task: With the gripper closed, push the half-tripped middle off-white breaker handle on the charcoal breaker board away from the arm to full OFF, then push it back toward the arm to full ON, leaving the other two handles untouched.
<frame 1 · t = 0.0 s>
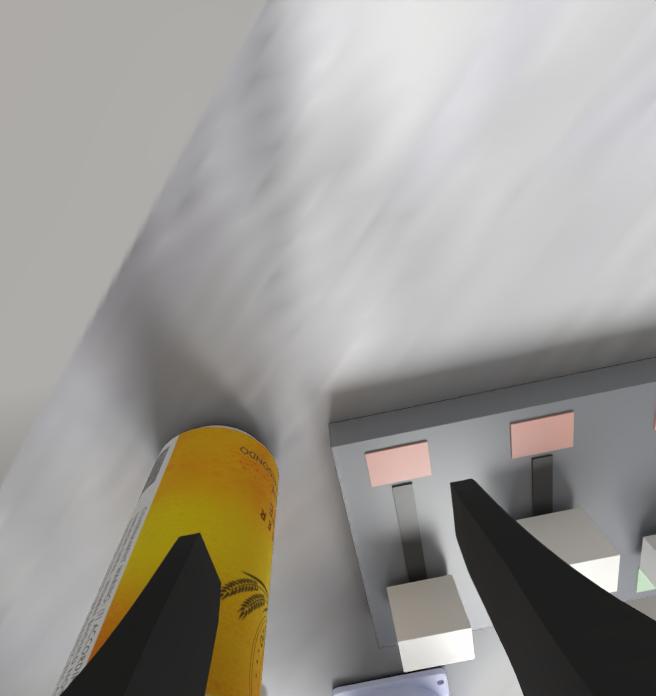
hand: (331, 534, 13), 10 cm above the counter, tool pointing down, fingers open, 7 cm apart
tripped breaker: (562, 554, 22), point 4 cm above the counter, slide at 3.0 cm
breaker board: (524, 497, 26), on the counter
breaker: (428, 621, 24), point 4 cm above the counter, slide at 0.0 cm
yellow and white cylinder: (221, 461, 24), on the counter, touching gripper
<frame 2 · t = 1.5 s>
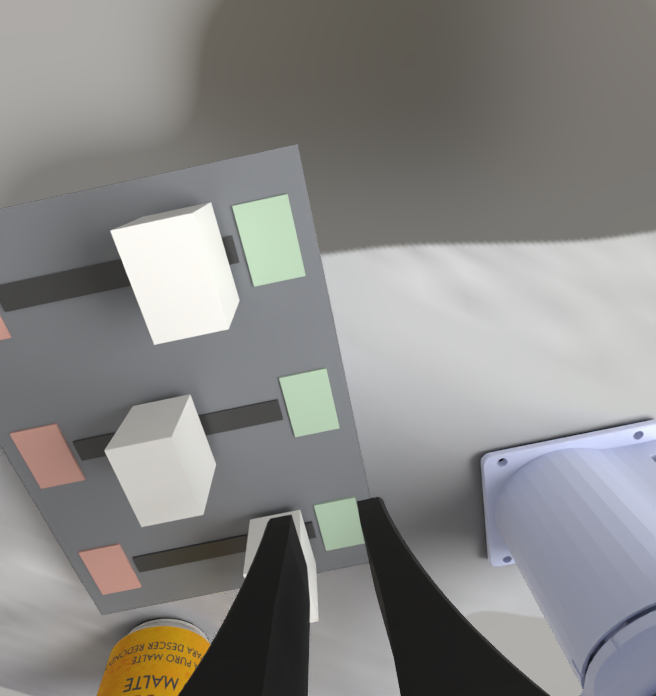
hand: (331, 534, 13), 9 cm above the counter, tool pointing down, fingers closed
tripped breaker: (166, 458, 18), point 4 cm above the counter, slide at 3.0 cm
breaker board: (188, 405, 21), on the counter
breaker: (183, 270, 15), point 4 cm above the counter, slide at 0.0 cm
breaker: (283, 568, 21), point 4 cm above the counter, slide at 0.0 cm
yellow and white cylinder: (167, 643, 28), on the counter
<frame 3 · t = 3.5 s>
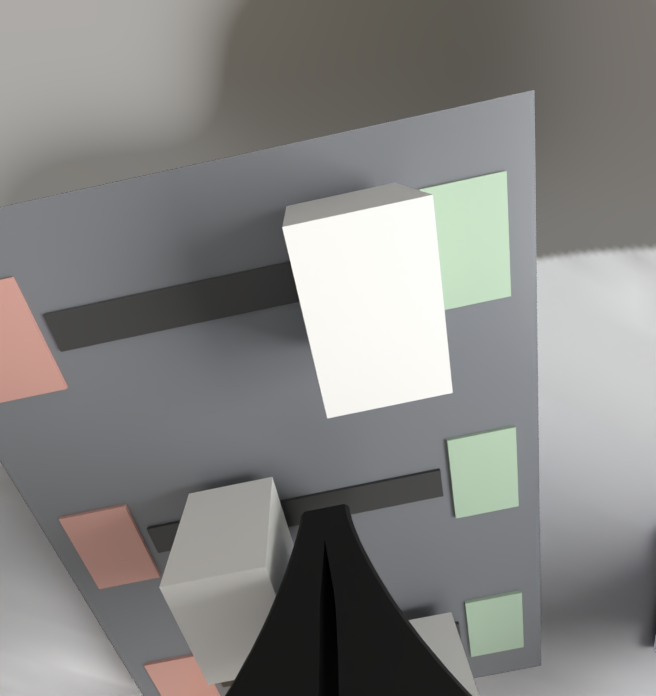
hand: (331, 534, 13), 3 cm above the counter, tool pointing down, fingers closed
tripped breaker: (241, 575, 12), point 4 cm above the counter, slide at 4.5 cm, touching gripper
breaker board: (296, 468, 16), on the counter
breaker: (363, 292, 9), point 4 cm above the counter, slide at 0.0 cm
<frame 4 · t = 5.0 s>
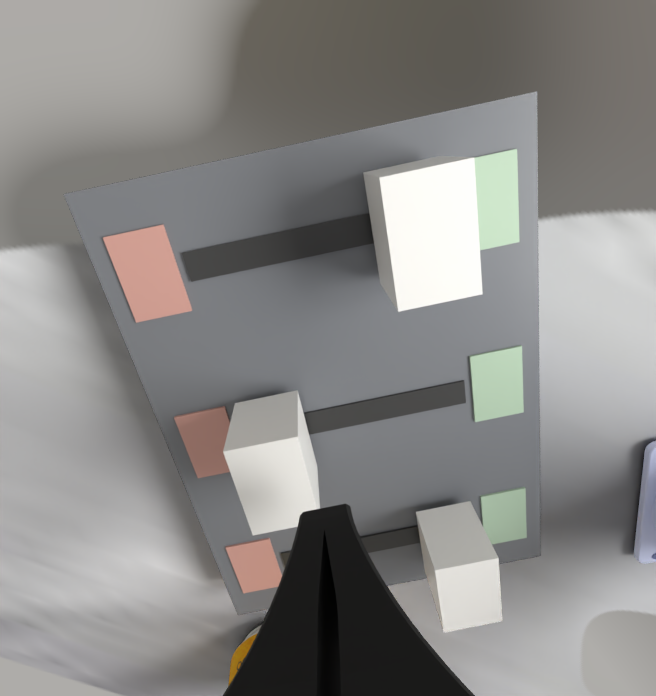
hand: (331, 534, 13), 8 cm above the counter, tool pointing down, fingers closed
tripped breaker: (276, 460, 16), point 4 cm above the counter, slide at 6.1 cm
breaker board: (347, 389, 20), on the counter
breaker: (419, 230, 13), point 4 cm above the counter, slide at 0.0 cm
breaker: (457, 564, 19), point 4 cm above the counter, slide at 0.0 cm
yellow and white cylinder: (285, 644, 27), on the counter
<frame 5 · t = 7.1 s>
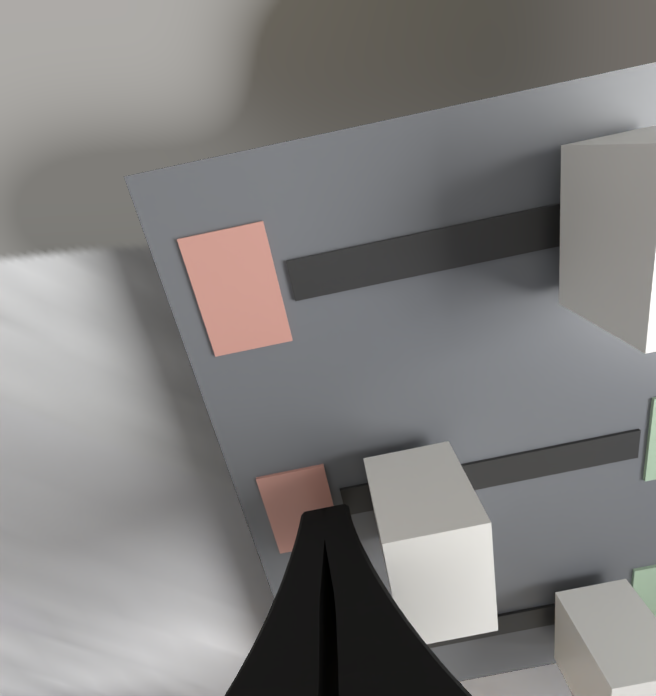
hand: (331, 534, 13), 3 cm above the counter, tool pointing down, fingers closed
tripped breaker: (426, 539, 12), point 4 cm above the counter, slide at 5.4 cm, touching gripper
breaker board: (466, 434, 16), on the counter
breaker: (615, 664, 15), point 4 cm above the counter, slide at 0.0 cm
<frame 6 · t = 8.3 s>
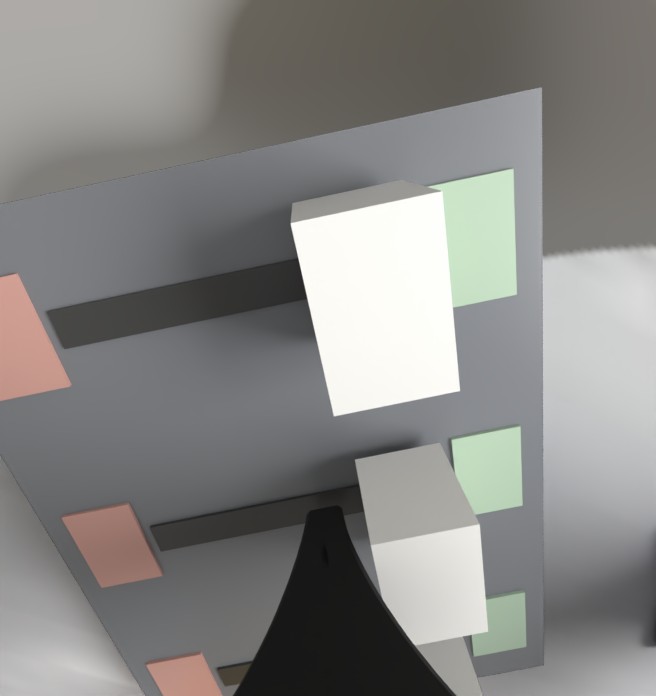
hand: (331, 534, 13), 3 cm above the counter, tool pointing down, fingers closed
tripped breaker: (417, 540, 12), point 4 cm above the counter, slide at -0.2 cm, touching gripper
breaker board: (299, 467, 16), on the counter
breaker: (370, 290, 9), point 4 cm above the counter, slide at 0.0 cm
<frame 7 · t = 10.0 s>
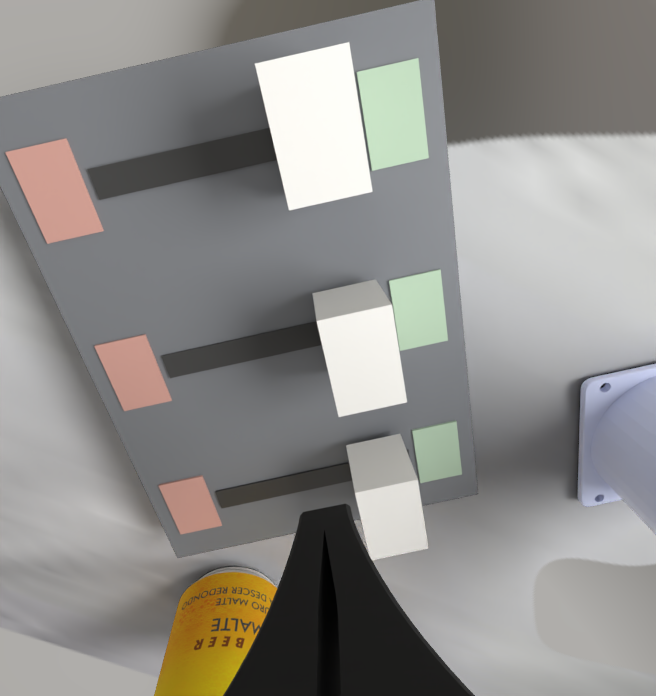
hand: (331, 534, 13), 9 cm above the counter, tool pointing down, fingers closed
tripped breaker: (357, 345, 16), point 4 cm above the counter, slide at -0.1 cm
breaker board: (277, 324, 20), on the counter
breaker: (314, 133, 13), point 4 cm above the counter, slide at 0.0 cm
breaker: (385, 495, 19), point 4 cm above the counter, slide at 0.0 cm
yellow and white cylinder: (235, 595, 27), on the counter
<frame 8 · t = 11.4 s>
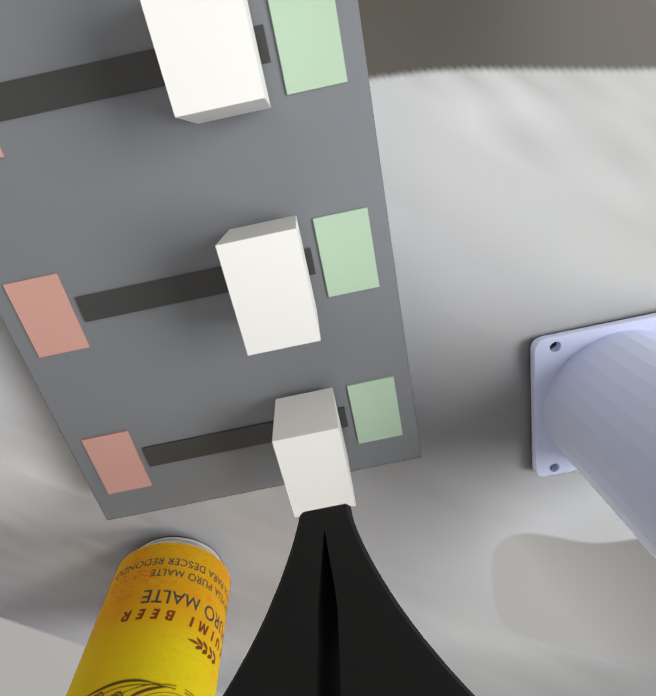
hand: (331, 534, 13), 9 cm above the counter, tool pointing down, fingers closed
tripped breaker: (273, 282, 15), point 4 cm above the counter, slide at -0.1 cm
breaker board: (206, 272, 19), on the counter
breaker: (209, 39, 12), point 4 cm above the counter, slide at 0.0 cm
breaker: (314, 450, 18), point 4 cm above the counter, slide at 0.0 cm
yellow and white cylinder: (178, 566, 26), on the counter
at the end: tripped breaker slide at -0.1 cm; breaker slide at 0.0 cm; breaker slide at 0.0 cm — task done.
